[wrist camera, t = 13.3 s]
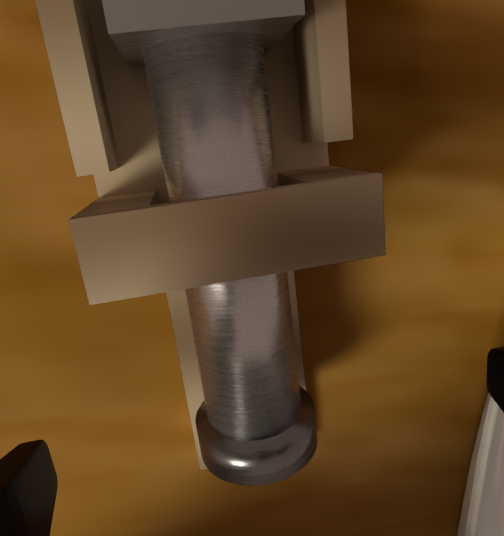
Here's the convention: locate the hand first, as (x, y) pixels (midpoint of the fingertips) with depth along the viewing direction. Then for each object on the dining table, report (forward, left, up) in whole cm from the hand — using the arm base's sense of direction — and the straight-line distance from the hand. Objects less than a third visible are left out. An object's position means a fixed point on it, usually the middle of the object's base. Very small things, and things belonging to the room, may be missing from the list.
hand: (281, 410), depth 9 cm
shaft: (+2, 0, -7) cm, 8 cm away
